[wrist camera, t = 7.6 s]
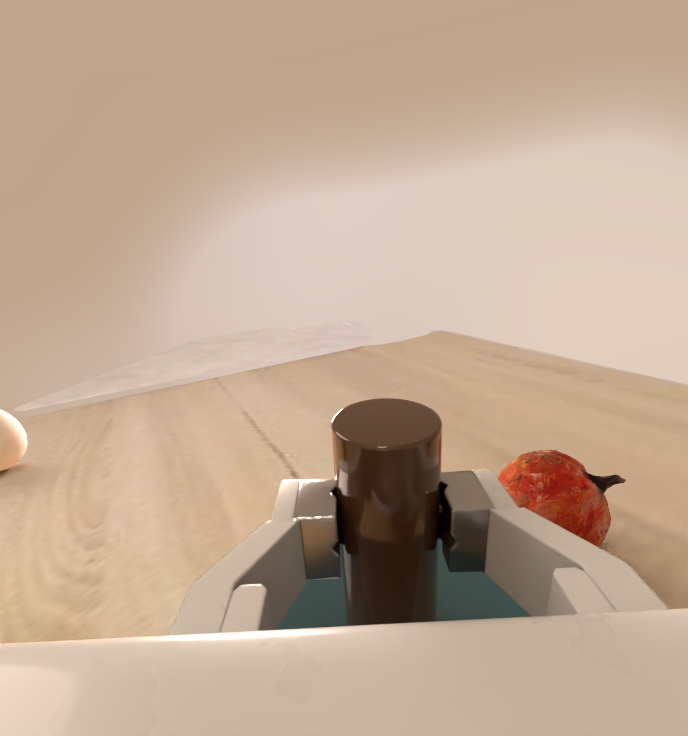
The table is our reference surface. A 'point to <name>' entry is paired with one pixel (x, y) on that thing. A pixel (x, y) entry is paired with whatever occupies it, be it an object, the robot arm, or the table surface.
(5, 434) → the egg
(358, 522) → the lid
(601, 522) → the pomegranate
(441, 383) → the table surface
